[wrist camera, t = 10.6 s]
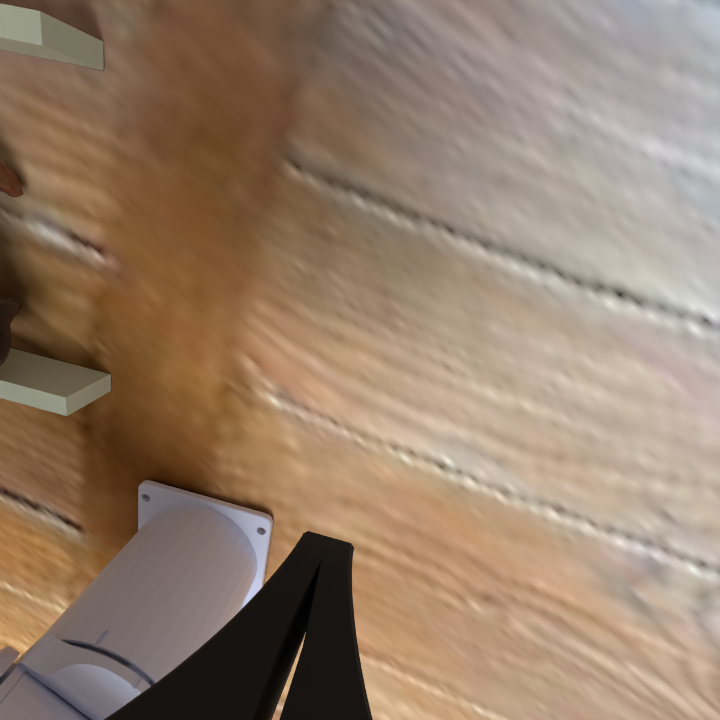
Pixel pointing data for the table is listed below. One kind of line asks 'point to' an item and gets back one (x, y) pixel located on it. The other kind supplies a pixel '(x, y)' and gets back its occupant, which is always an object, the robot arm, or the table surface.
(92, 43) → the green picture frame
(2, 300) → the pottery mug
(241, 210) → the table surface
